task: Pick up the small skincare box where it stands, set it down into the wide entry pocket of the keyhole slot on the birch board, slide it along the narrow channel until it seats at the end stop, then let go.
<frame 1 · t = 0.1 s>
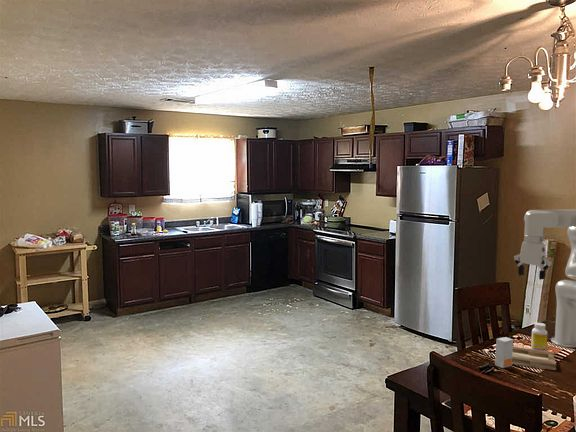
hand: (531, 277, 220), 37 cm above the table, tool pointing down, fingers open, 9 cm apart
skincare box: (503, 366, 213), on the table
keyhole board: (528, 359, 219), on the table
supplement bottle: (538, 350, 231), on the table
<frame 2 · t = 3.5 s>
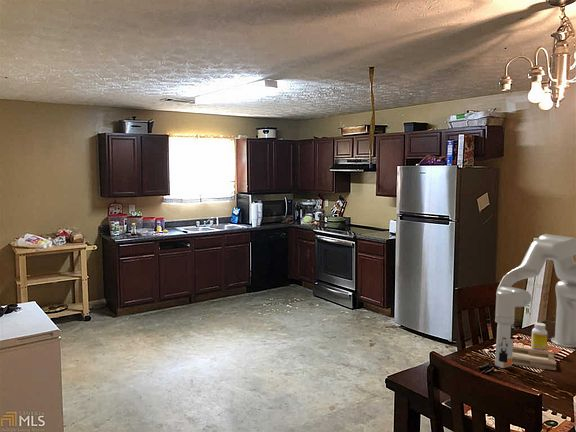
hand: (502, 358, 213), 3 cm above the table, tool pointing down, fingers open, 7 cm apart
skincare box: (503, 366, 213), on the table, touching gripper
everything else where it was.
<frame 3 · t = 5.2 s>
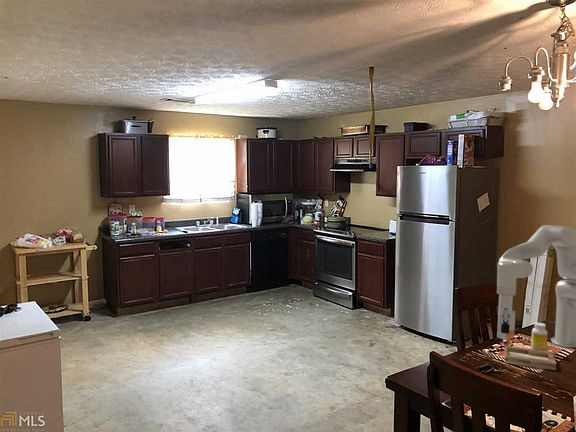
hand: (505, 329, 212), 16 cm above the table, tool pointing down, fingers closed on skincare box, 7 cm apart
skincare box: (505, 338, 212), point 12 cm above the table, touching gripper
everything else where it was.
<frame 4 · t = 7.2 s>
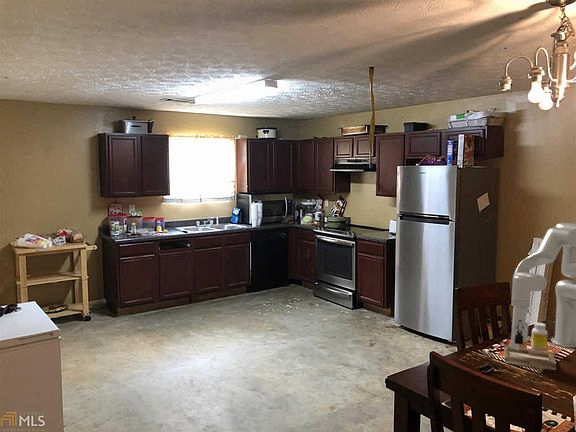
hand: (518, 340, 220), 8 cm above the table, tool pointing down, fingers closed on skincare box, 7 cm apart
skincare box: (518, 348, 220), point 5 cm above the table, touching gripper
everything else where it was.
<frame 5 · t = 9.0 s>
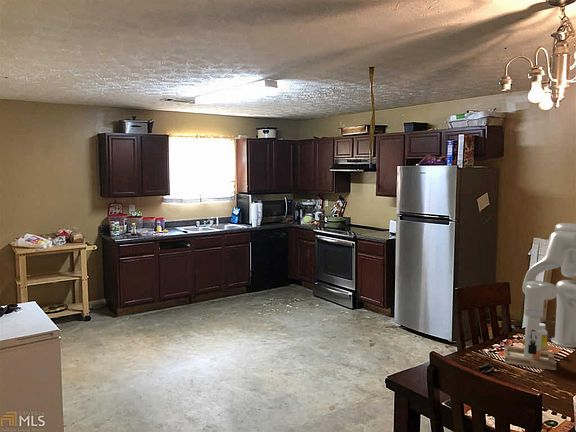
hand: (531, 350, 219), 5 cm above the table, tool pointing down, fingers closed on skincare box, 7 cm apart
skincare box: (532, 358, 219), point 1 cm above the table, touching gripper
everything else where it was.
when the fingers open (5 cm above the table, at t = 10.4 s): skincare box stays where it is, resting on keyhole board.
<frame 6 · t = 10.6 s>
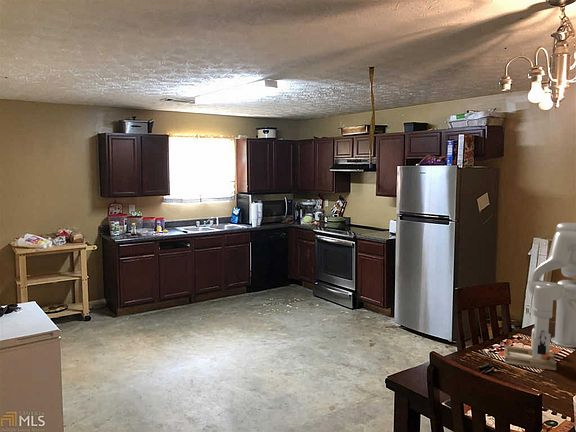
hand: (540, 350, 217), 5 cm above the table, tool pointing down, fingers open, 8 cm apart
skincare box: (540, 359, 218), point 1 cm above the table, touching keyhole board
everything else where it was.
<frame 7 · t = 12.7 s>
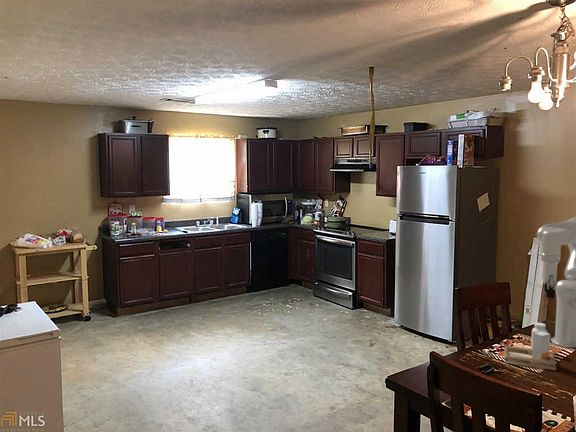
hand: (549, 294, 220), 29 cm above the table, tool pointing down, fingers open, 9 cm apart
nothing on the table moved.
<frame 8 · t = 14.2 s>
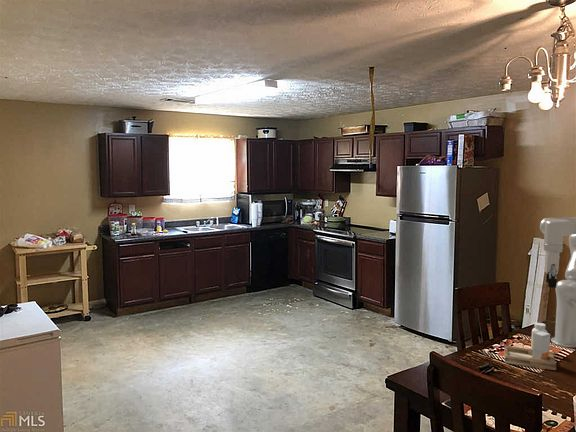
hand: (551, 284, 221), 33 cm above the table, tool pointing down, fingers open, 9 cm apart
nothing on the table moved.
at the end: skincare box 0.1 cm from the target spot, point 0.8 cm above the table; skincare box tilted 0°; the gripper is holding nothing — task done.
